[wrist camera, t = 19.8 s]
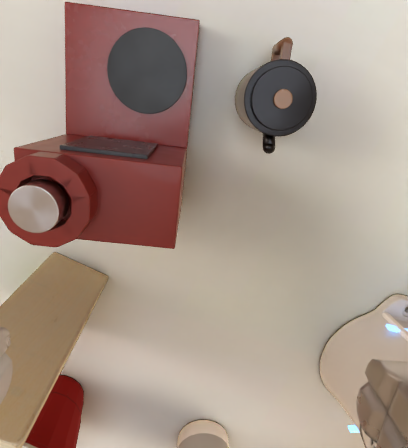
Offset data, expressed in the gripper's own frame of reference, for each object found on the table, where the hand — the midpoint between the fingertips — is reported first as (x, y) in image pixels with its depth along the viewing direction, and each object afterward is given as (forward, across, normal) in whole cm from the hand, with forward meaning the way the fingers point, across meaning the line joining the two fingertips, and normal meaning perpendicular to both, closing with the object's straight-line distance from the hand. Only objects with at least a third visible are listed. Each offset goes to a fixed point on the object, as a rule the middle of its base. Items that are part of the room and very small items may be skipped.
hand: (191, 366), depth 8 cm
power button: (+16, -10, -2) cm, 18 cm away
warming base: (+29, -6, +7) cm, 31 cm away
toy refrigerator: (+29, -13, -16) cm, 36 cm away
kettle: (+29, +6, +6) cm, 30 cm away
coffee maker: (+29, -6, -2) cm, 30 cm away
